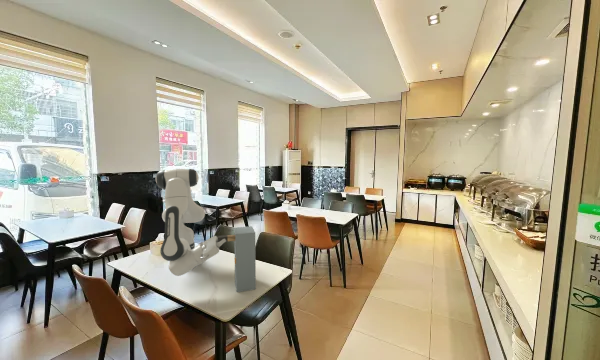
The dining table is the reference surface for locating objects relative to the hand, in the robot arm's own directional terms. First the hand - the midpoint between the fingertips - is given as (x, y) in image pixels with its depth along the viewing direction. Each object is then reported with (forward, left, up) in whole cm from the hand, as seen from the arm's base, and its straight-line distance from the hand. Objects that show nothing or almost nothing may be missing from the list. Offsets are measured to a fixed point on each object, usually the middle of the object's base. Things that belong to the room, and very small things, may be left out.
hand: (225, 238), depth 131 cm
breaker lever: (0, +4, -2) cm, 4 cm away
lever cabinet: (0, +10, -28) cm, 29 cm away
